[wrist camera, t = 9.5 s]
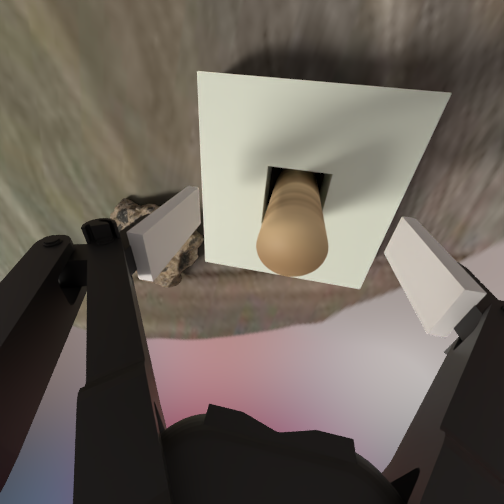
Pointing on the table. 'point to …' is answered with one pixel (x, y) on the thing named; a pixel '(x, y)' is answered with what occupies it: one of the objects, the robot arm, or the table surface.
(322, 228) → the dowel
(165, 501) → the robot arm
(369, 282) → the table surface
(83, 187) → the table surface
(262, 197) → the socket block
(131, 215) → the rock
